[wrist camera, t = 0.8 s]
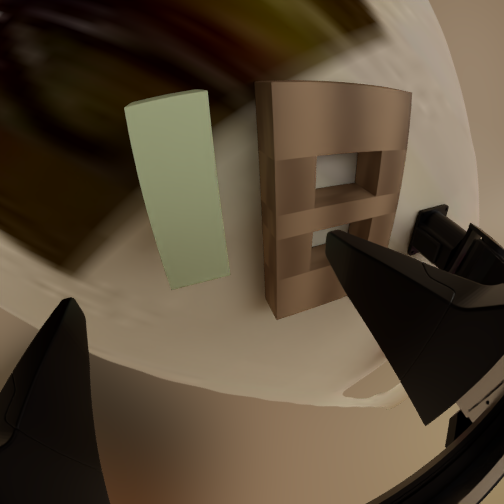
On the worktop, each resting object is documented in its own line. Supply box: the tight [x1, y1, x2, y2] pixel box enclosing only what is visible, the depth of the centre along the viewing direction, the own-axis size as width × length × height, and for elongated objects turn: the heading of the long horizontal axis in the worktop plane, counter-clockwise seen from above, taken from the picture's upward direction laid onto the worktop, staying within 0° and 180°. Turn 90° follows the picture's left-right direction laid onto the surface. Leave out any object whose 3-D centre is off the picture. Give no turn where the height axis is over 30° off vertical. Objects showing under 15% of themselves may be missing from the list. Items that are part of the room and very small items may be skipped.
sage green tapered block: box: [124, 89, 230, 290], centre depth 15 cm, size 4×10×6 cm, turn 2°
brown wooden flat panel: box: [254, 80, 412, 320], centre depth 22 cm, size 12×20×3 cm, turn 2°
